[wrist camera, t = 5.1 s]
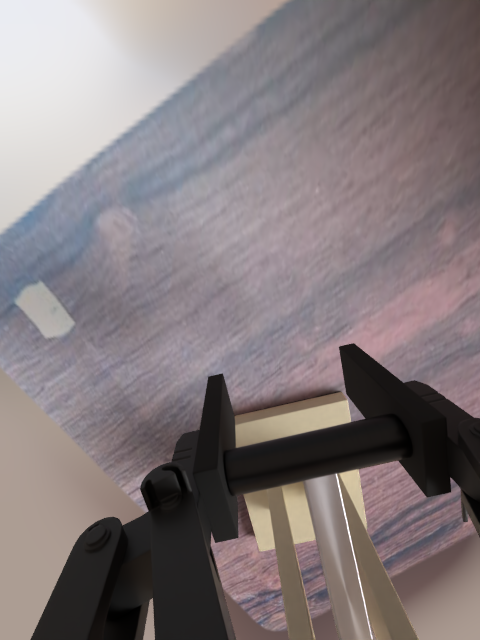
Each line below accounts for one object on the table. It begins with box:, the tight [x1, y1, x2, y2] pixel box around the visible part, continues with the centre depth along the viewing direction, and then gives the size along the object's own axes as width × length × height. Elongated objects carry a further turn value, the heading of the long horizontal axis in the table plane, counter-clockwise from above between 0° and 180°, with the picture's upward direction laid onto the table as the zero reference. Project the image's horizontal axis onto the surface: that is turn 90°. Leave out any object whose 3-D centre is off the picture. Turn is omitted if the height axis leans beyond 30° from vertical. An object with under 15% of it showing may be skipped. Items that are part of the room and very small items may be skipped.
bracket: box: [234, 392, 419, 640], centre depth 16 cm, size 12×9×15 cm
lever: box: [224, 413, 413, 640], centre depth 10 cm, size 13×6×2 cm, turn 13°
